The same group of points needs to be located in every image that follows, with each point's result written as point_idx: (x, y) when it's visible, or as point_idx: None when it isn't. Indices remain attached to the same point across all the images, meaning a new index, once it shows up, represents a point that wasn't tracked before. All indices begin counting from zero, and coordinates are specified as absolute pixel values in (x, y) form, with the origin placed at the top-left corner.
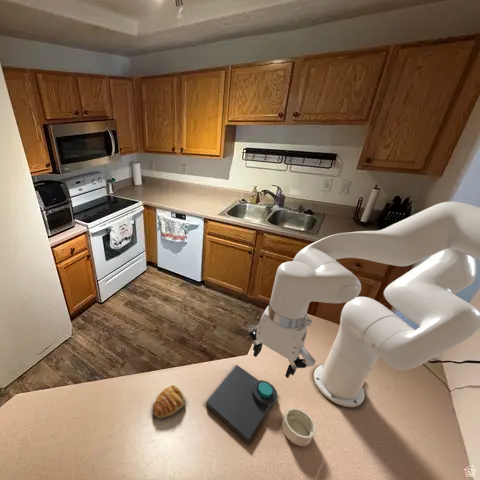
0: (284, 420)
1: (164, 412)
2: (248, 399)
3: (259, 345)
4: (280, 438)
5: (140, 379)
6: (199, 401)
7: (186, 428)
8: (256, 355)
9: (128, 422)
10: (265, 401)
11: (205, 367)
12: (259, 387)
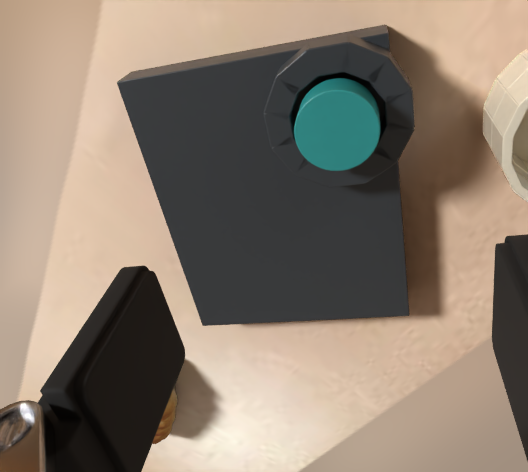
0: (508, 182)
1: (162, 434)
2: (302, 194)
3: (117, 460)
4: (504, 189)
5: (22, 390)
6: (184, 312)
7: (235, 389)
8: (178, 368)
9: None
10: (375, 168)
11: (61, 195)
12: (308, 155)
